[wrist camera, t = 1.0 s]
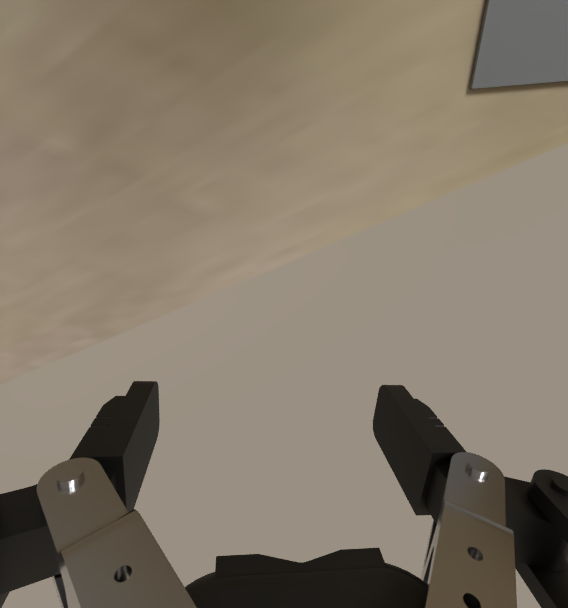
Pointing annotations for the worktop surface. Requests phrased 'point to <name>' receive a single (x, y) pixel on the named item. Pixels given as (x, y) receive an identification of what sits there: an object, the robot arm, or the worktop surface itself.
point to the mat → (522, 43)
